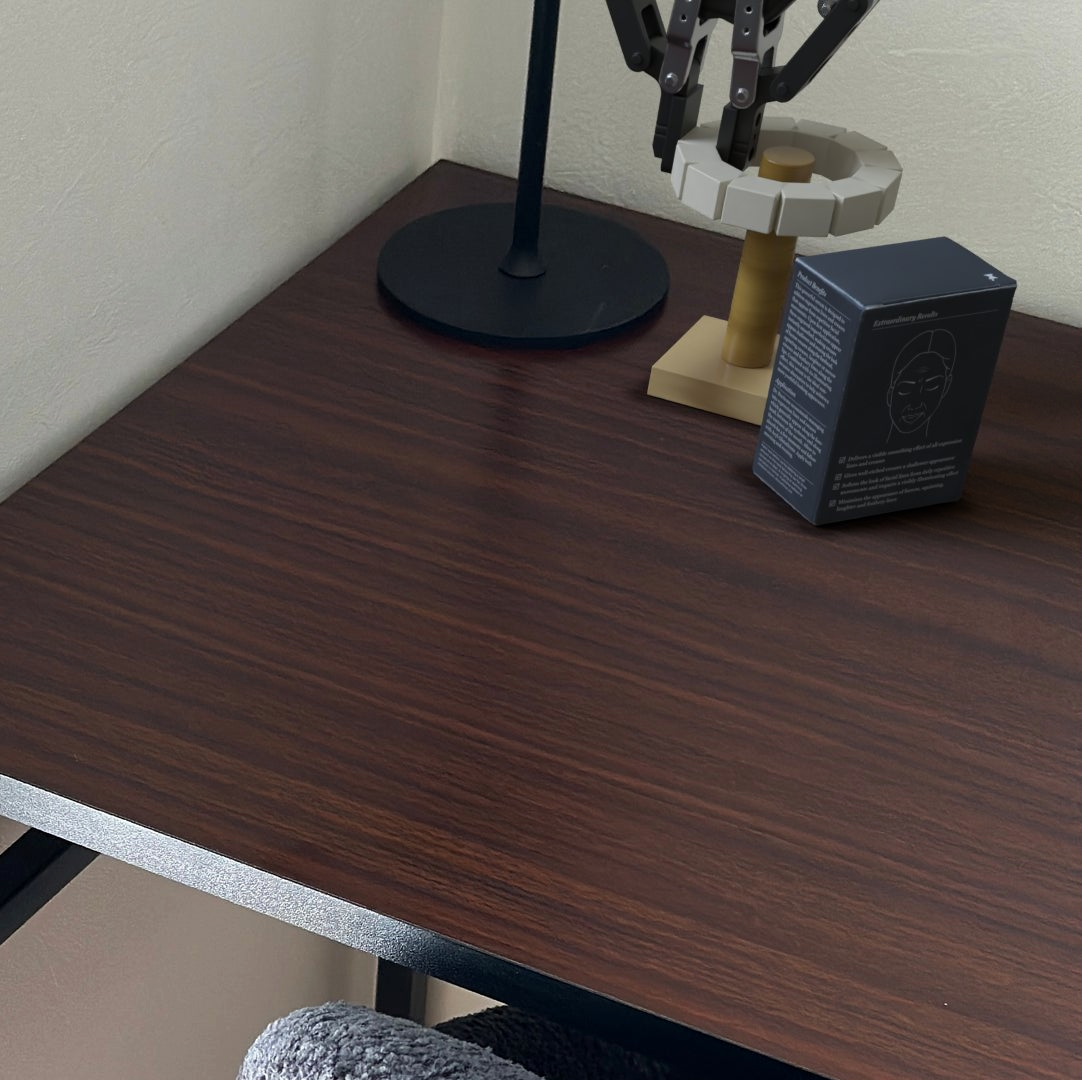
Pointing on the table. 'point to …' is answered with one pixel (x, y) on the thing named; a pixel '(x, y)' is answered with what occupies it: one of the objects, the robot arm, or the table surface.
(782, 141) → the ring
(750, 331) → the post
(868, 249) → the box
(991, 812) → the table surface
